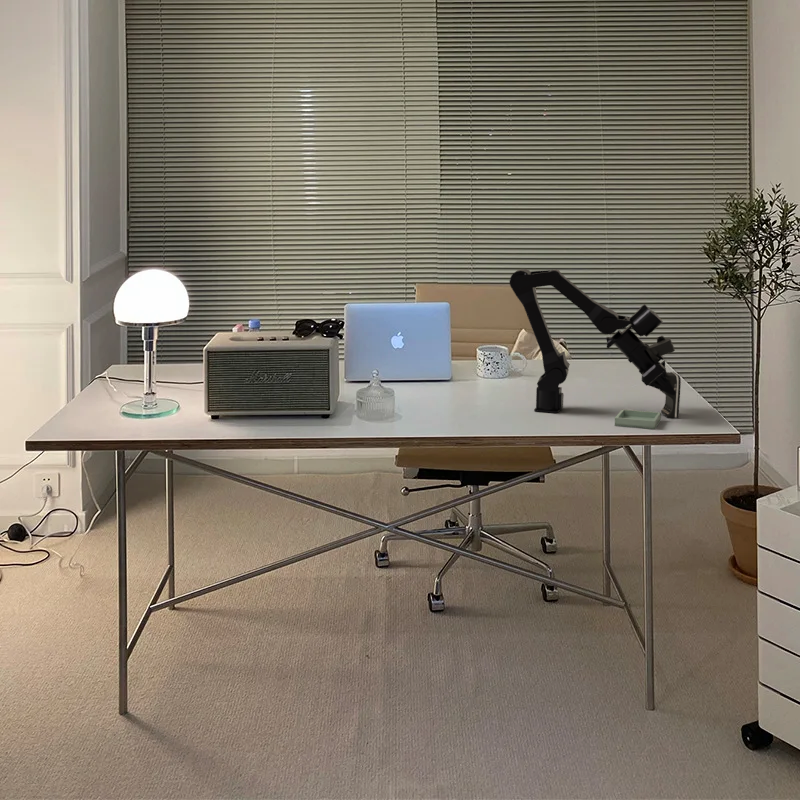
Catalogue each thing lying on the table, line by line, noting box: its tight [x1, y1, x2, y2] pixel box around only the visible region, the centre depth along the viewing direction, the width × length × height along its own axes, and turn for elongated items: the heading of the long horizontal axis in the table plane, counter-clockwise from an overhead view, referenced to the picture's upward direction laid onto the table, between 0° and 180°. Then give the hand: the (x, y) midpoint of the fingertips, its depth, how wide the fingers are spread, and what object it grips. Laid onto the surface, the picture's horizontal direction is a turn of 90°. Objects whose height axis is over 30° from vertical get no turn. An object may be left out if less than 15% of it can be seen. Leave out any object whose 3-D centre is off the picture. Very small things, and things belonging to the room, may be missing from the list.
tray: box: [614, 409, 662, 430], centre depth 269 cm, size 10×10×2 cm
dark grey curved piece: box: [659, 371, 682, 419], centre depth 275 cm, size 7×4×11 cm, turn 3°
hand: (674, 391), depth 275 cm, fingers closed on dark grey curved piece, 7 cm apart
